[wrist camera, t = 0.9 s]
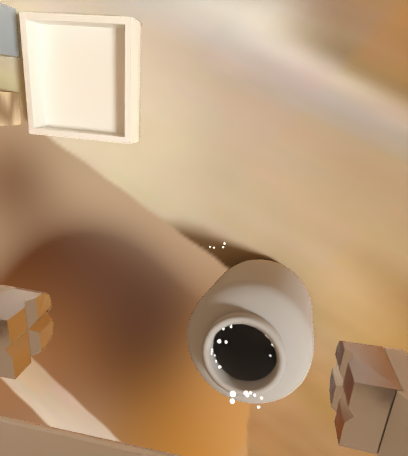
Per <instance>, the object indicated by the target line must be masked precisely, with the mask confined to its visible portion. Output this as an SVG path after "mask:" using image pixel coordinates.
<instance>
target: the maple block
mask: <svg viewBox="0 0 408 456" xmlns="http://www.w3.org/2000/svg"><path fill="white" fill-rule="evenodd" d="M21 124H22V123H21V116H20V105H19V94H18V93H17V92H5V91H0V126H6V125H21Z"/></svg>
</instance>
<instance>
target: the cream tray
mask: <svg viewBox="0 0 408 456" xmlns="http://www.w3.org/2000/svg"><path fill="white" fill-rule="evenodd" d="M19 18H20V30H21V42H22V54H23V66H24V78H25V90H26V102H27V114H28V126H29V133H30V134H39V135H48V136H58V137H68V138H78V139H87V140H97V141H107V142H116V143H126V144H132V143H136V142H140V89H141V27H142V23H140V22H139V21H137V20H136V19H134V18H132V17H122V16H101V15H79V14H57V13H36V12H19Z"/></svg>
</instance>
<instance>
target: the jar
mask: <svg viewBox="0 0 408 456" xmlns="http://www.w3.org/2000/svg"><path fill="white" fill-rule="evenodd" d="M223 244H226V243H225V242H224V243H223ZM209 248H211V246H209ZM214 248H215V247H213V249H214ZM222 248H224V246H222ZM187 341H188V348H189V352H190V355H191V359H192V361H193V363H194V365H195V367H196V369H197V370H198V372H199V373H200V374H201V376H202V377H203V378H204V380H205V381H206V382H207V383H209V384H210V385H211V386H212V387H213V388H214V389H215V390H217V391H218V392H220V393H221V394H223V395H225V396H227V397H229V398H232V399H230V403H231V404H233V403H234V400H237V401H241V402H246V403H257V404H260V403H268V402H273V401H276V400H279V399H282V398H284V397H285V396H287V395H289V394H290V393H292V392H293V391H294V390H295V389H296V388H297V387H298V386H299V385H301V383H302V382H303V380H304V379H305V377H306V376H307V374H308V371H309V369H310V366H311V363H312V359H313V351H314V335H313V313H312V303H311V300H310V296H309V293H308V291H307V289H306V287H305V286H304V284H303V282H302V281H301V280H300V279H299V277H298V276H297V275H296V274H295V273H293V272H292V271H291V270H290V269H288V268H287V267H285V266H283V265H281V264H279V263H276V262H273V261H270V260H262V259H257V260H248V261H244V262H241V263H239V264H237V265H235V266H233V267H231V268H230V269H229V270H227V271H226V272H225V273H224V274H223V275H222V276H221V277H220V278H219V280H217V282H216V283H215V284H214V285H213V286H212V287H211V288H210V289H209V290H208V291H207V293H206V294H205V295H204V296H203V297H202V298H201V300H200V301H199V302H198V303H197V305H196V307H195V309H194V311H193V312H192V314H191V317H190V321H189V324H188V332H187ZM257 408H258V409H259V408H260V406H257Z"/></svg>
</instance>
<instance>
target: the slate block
mask: <svg viewBox="0 0 408 456" xmlns="http://www.w3.org/2000/svg"><path fill="white" fill-rule="evenodd" d="M0 56H8V57H20V53H19V41H18V29H17V17H16V9H15V8H12V7H9V6H7V5H4V4H1V3H0Z"/></svg>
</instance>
